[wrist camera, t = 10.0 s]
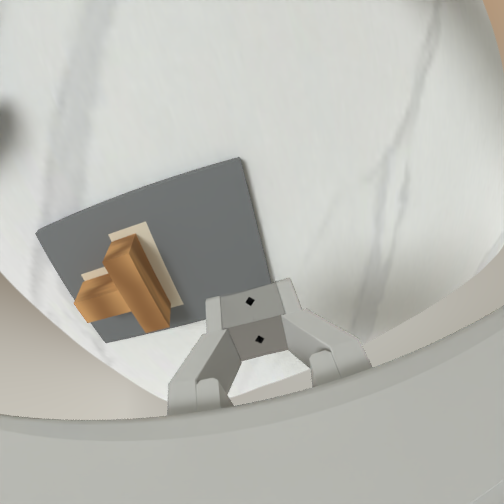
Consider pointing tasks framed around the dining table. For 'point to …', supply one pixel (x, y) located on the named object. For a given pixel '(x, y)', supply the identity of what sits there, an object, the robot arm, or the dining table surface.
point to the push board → (168, 242)
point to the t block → (126, 288)
